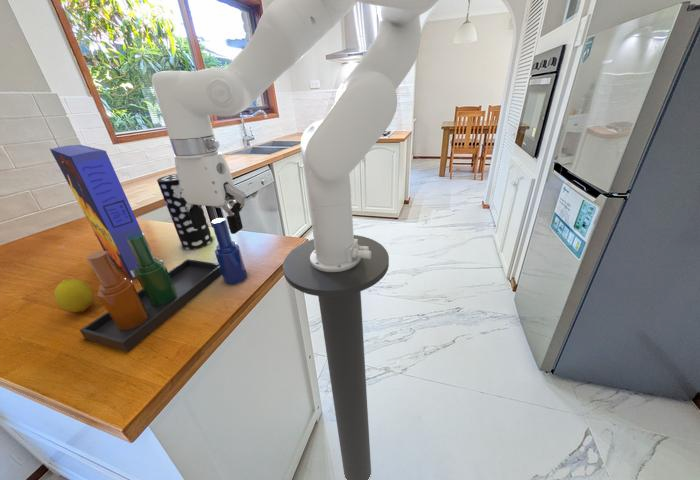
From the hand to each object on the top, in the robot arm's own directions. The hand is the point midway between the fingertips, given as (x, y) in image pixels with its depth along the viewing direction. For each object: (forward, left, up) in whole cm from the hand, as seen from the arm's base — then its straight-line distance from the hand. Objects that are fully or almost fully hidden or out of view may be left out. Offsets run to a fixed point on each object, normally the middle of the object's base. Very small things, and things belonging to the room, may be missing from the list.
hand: (218, 228), depth 62 cm
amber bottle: (+10, +18, -12) cm, 24 cm away
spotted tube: (+24, -13, -13) cm, 30 cm away
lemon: (+25, +18, -13) cm, 33 cm away
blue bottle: (0, 0, -13) cm, 13 cm away
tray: (+10, +11, -13) cm, 19 cm away
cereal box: (+35, 0, -13) cm, 37 cm away
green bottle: (+10, +11, -12) cm, 19 cm away
